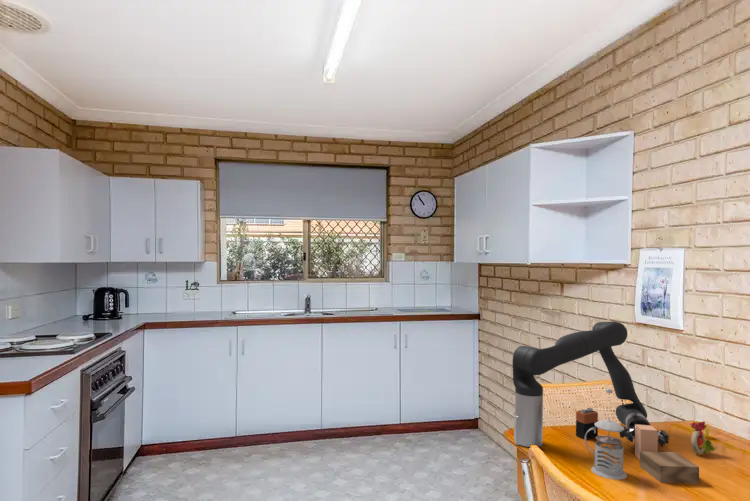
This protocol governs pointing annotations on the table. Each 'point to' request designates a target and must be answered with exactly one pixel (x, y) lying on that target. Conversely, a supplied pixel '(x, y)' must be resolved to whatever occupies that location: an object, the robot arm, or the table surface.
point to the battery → (586, 423)
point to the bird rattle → (700, 439)
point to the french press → (608, 451)
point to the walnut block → (669, 467)
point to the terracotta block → (645, 439)
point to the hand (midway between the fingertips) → (646, 441)
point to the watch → (705, 428)
